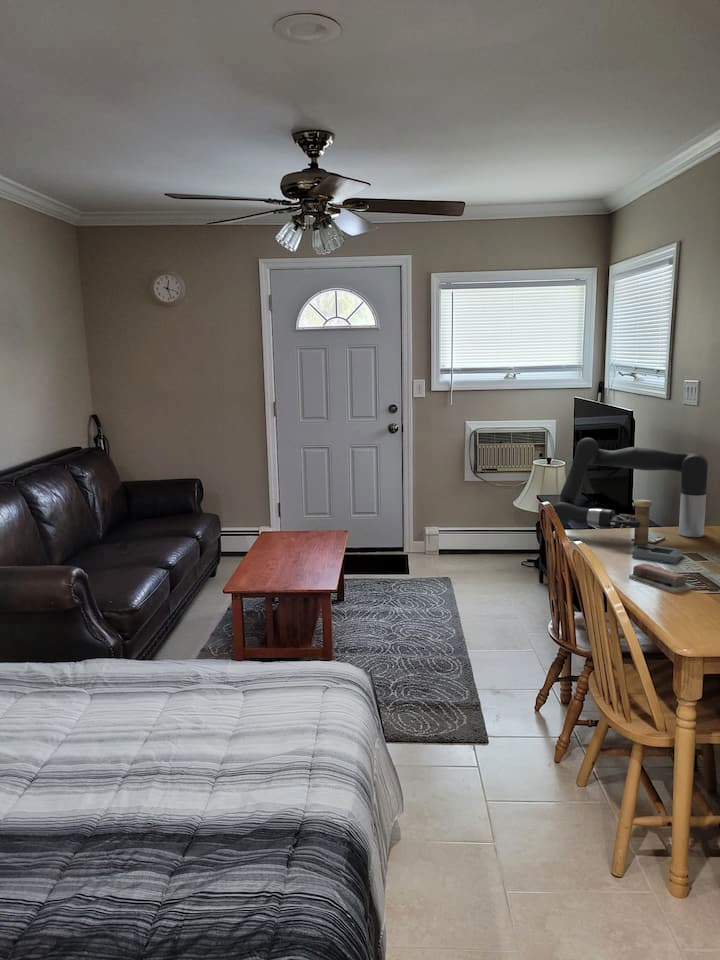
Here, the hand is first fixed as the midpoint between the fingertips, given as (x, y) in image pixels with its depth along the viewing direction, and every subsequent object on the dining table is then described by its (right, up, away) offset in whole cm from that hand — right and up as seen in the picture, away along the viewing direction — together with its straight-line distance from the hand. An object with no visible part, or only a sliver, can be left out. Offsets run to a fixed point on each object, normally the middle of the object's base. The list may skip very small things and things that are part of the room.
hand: (642, 522), depth 264 cm
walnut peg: (0, -9, +2) cm, 9 cm away
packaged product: (-12, -17, -43) cm, 48 cm away
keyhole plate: (-1, -12, -14) cm, 18 cm away
